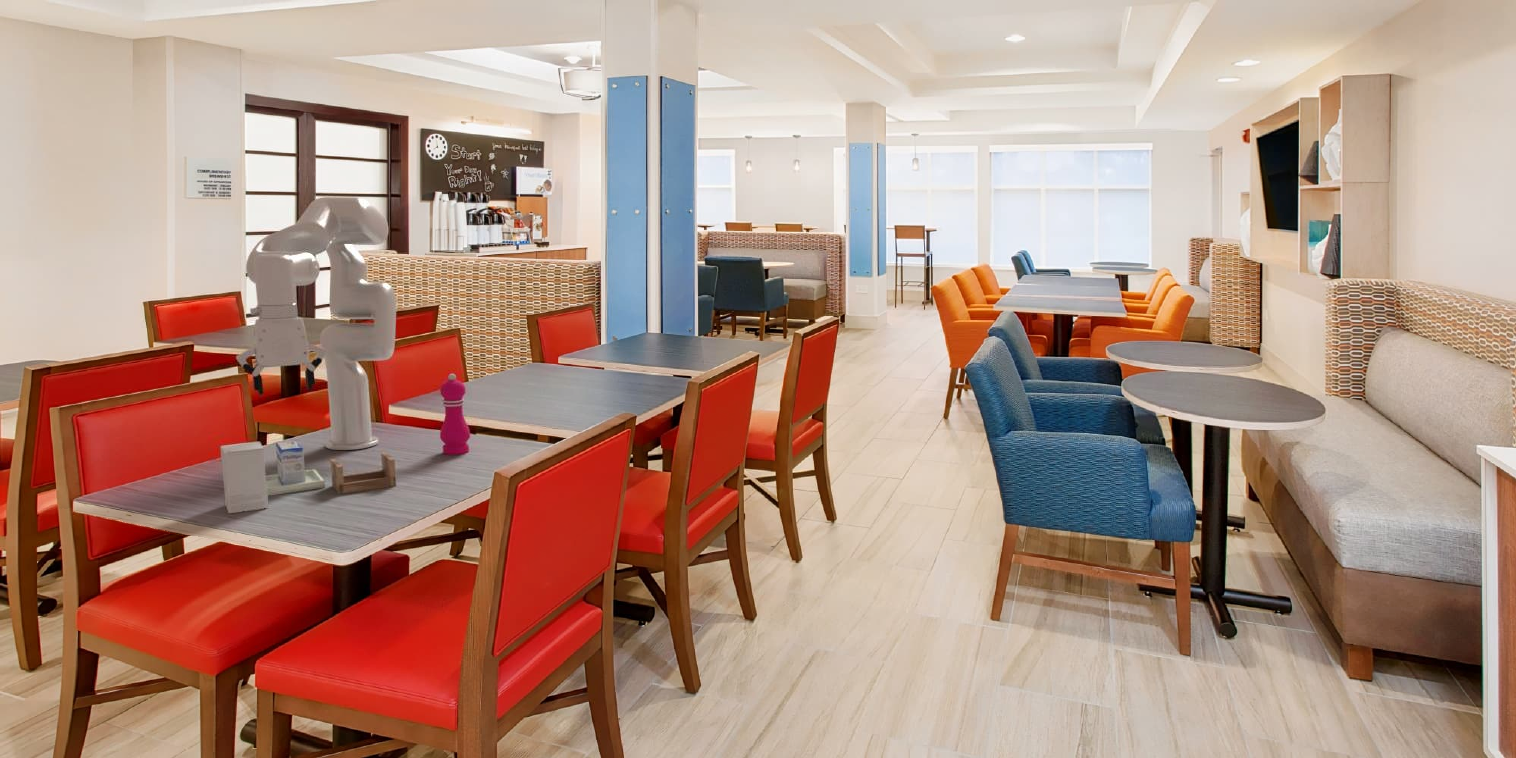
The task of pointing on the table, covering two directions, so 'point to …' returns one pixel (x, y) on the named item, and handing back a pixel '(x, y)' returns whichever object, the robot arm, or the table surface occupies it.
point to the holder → (364, 477)
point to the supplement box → (244, 477)
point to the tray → (311, 482)
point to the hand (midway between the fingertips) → (285, 391)
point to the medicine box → (290, 463)
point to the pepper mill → (454, 418)
